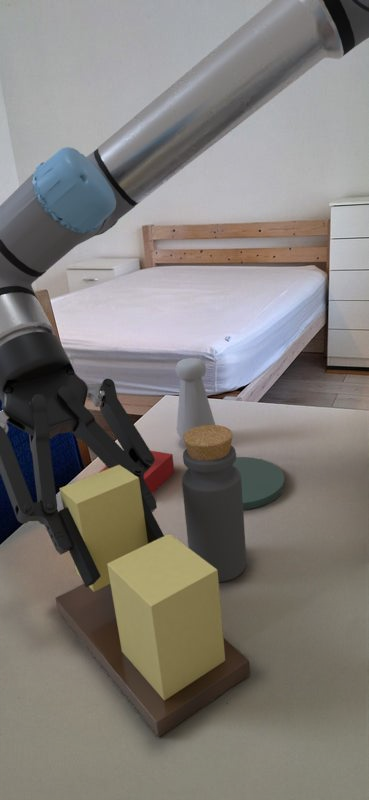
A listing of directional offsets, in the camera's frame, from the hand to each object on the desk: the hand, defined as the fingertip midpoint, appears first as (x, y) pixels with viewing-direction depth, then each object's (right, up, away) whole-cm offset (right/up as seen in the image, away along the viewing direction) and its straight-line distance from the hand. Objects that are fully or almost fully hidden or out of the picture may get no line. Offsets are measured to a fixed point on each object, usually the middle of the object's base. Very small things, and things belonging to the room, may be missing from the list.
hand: (127, 564), depth 52 cm
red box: (-1, +3, +28) cm, 28 cm away
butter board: (+1, -7, +1) cm, 7 cm away
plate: (+12, +3, +25) cm, 28 cm away
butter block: (+4, -7, -3) cm, 8 cm away
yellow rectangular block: (-2, -1, +3) cm, 4 cm away
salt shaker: (+7, +8, +38) cm, 39 cm away
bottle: (+9, -3, +10) cm, 14 cm away
